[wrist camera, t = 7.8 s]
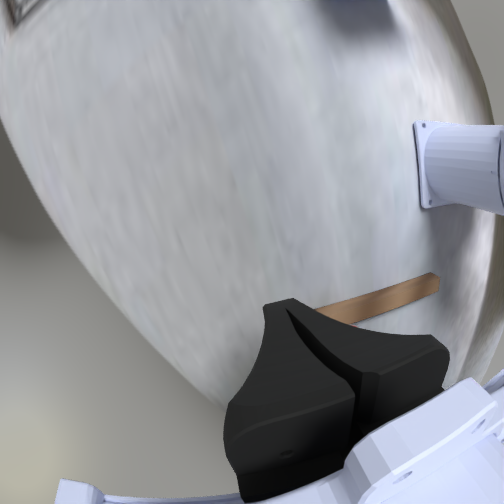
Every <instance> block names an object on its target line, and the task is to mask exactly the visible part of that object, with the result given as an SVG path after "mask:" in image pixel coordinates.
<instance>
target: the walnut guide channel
mask: <svg viewBox="0 0 504 504" xmlns="http://www.w3.org/2000/svg"><path fill="white" fill-rule="evenodd" d="M439 282H440V277H438V276H436V275H435V274H433V273H431V272H430V273H428V274H425V275H422V276H419V277H417V278H414V279H411V280H408V281H405V282H402V283H399V284H396V285H393V286H390V287H387V288H384V289H381V290H378V291H375V292H372V293H368V294H365V295H362V296H359V297H355V298H352V299H349V300H345V301H342V302H338V303H335V304H331V305H328V306H324V307H321V308H317V309H314V310H316V311H318V312H320V313H322V314H324V315H326V316H328V317H330V318H333V319H335V320H337V321H340V322H342V323H345V324H348V325H349V324H352V323H355V322H358V321H361V320H364V319H367V318H370V317H373V316H375V315H378V314H381V313H384V312H387V311H389V310H392V309H395V308H397V307H400V306H403V305H405V304H408V303H410V302H413V301H416V300H418V299H420V298H423V297H425V296H428V295H430V294H433V293H435V292H437V291H438V290H439Z"/></svg>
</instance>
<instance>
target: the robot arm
mask: <svg viewBox="0 0 504 504" xmlns="http://www.w3.org/2000/svg"><path fill="white" fill-rule="evenodd" d="M422 124H423V127H422ZM414 129H415V136H416V144H417V152H418V162H419V175H420V192H421V206H422V207H423V208H426V209H427V208H432V207H438V206H443V205H448V204H454V203H459V204H463V205H466V206H470V207H474V208H478V209H481V210H485V211H489V212H492V213H495V214H499V215H502V216H504V125H462V124H454V123H446V122H436V121H425V120H416V121H415V122H414ZM429 201H430V203H429ZM263 313H264V318H265V329H264V335H263V340H262V345H261V348H260V351H259V354H258V357H257V360H256V362H255V364H254V367H253V369H252V371H251V373H250V374H249V376H248V378H247V379H246V381H245V383H244V384H243V386H242V387H241V389H240V390H239V391H238V393H237V394H236V395H235V396H234V398H233V399H232V400H231V401H230V402H229V404H228V408H227V412H226V417H225V423H224V433H223V434H224V435H223V436H224V437H223V440H224V447H225V452H226V457H227V459H228V461H229V463H230V464H231V466H232V468H233V470H234V472H235V473H236V475H237V480H238V486H239V492H240V493H233V494H226V495H218V496H207V497H193V498H137V497H124V496H113V495H106V494H103V493H102V492H101V491H100V490H99V489H98V488H96V487H95V486H93V485H90V484H88V483H84V482H79V481H74V480H68V479H63V478H62V479H60V483H59V487H58V491H57V495H56V499H55V504H504V445H503V443H504V368H503V369H502V370H501V371H500V372H499V373H498V374H496V375H495V376H494V377H493V378H492V379H491V380H489V381H488V382H487V383H486V384H485V385H483V386H482V387H481V386H480V385H479V384H478V383H477V382H476V381H475V380H474V379H473V378H471V377H469V378H466V379H464V380H461V381H459V382H457V383H456V384H454V385H452V386H451V387H449V388H448V389H446V390H444V389H443V388H442V387H441V386H442V383H443V381H444V378H445V375H446V372H447V369H448V365H449V361H450V354H449V351H448V349H447V348H446V347H445V346H444V345H443V344H442V343H440V342H439V341H438V340H437V339H436V338H435V337H433V336H432V335H399V334H388V333H381V332H375V331H370V330H366V329H361V328H358V327H355V326H351V325H348V324H345V323H342V322H340V321H337V320H335V319H333V318H330V317H328V316H326V315H324V314H322V313H320V312H318V311H316V310H314V309H312V308H310V307H308V306H306V305H305V304H303V303H301V302H299V301H298V300H296V299H294V298H291V299H286V300H282V301H278V302H274V303H270V304H265V305H264V306H263Z"/></svg>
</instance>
